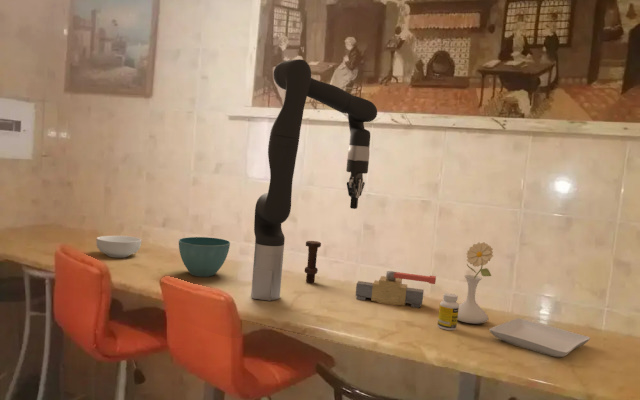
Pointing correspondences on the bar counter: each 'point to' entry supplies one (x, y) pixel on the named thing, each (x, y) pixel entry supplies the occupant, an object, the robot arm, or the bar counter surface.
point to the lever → (410, 277)
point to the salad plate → (539, 337)
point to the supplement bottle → (448, 312)
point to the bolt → (312, 260)
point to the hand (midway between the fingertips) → (353, 208)
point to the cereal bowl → (118, 245)
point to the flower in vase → (475, 284)
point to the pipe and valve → (389, 292)
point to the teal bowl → (203, 254)
